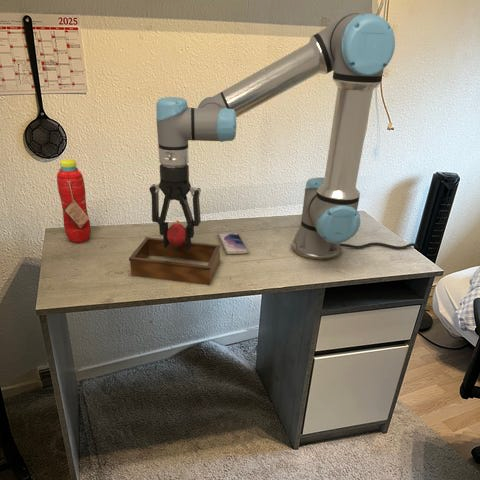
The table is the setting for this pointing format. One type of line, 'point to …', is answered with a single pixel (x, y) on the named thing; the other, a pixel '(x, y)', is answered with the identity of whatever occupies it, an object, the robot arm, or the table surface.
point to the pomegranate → (176, 234)
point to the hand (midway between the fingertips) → (177, 246)
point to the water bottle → (73, 201)
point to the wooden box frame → (175, 269)
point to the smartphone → (232, 243)
